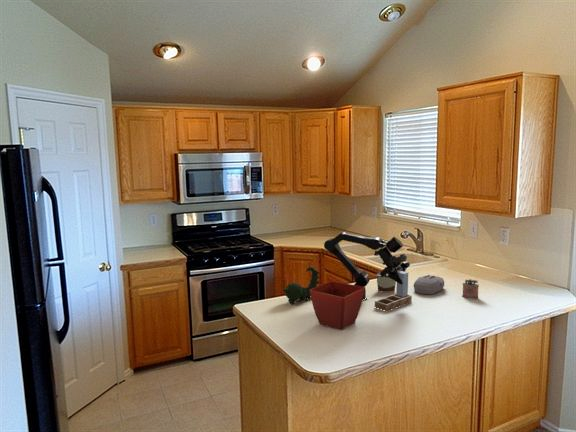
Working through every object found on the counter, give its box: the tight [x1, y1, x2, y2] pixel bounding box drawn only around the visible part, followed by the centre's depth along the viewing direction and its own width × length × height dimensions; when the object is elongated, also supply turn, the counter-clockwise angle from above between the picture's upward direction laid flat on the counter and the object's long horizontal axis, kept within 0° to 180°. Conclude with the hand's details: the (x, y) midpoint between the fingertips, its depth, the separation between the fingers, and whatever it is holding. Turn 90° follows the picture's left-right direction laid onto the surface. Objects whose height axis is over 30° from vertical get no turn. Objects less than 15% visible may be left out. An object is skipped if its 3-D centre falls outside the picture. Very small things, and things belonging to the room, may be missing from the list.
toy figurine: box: [282, 266, 320, 304], centre depth 228 cm, size 9×19×25 cm
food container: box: [375, 272, 397, 291], centre depth 243 cm, size 12×6×10 cm, turn 84°
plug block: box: [395, 271, 409, 297], centre depth 213 cm, size 4×4×12 cm
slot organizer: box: [374, 293, 413, 312], centre depth 219 cm, size 21×8×4 cm, turn 130°
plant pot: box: [310, 280, 366, 330], centre depth 196 cm, size 19×19×17 cm
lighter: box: [461, 278, 480, 300], centre depth 228 cm, size 8×3×10 cm, turn 62°
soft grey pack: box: [413, 274, 445, 295], centre depth 241 cm, size 15×8×20 cm
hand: (404, 283), depth 212 cm, fingers closed on plug block, 4 cm apart
